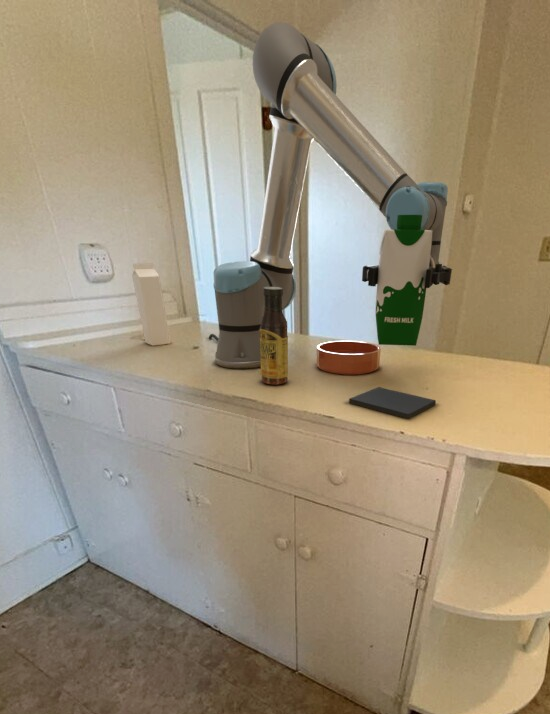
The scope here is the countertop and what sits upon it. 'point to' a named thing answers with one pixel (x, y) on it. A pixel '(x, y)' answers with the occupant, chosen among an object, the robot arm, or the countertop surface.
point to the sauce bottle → (273, 339)
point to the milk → (150, 304)
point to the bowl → (348, 357)
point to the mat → (392, 402)
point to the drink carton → (402, 281)
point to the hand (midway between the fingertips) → (398, 278)
